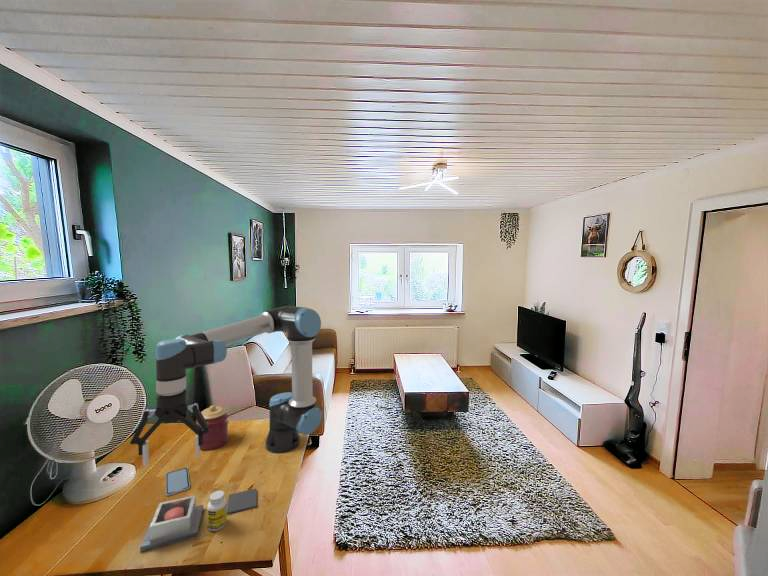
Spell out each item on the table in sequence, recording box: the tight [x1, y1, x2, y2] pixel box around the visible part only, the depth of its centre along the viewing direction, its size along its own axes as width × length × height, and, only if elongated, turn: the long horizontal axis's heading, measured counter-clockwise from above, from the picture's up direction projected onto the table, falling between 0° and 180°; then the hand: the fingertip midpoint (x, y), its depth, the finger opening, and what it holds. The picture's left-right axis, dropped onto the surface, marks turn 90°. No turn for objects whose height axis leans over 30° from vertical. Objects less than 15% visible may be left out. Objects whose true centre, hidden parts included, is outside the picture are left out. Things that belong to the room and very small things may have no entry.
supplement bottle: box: [206, 490, 228, 532], centre depth 98 cm, size 5×5×10 cm
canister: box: [195, 404, 229, 451], centre depth 145 cm, size 13×13×18 cm
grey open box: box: [139, 494, 204, 553], centre depth 97 cm, size 14×12×6 cm
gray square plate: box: [227, 488, 257, 515], centre depth 109 cm, size 9×9×1 cm
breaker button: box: [164, 507, 184, 521], centre depth 97 cm, size 5×5×2 cm
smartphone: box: [165, 467, 191, 497], centre depth 118 cm, size 7×1×15 cm
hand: (172, 459), depth 96 cm, fingers open, 13 cm apart
